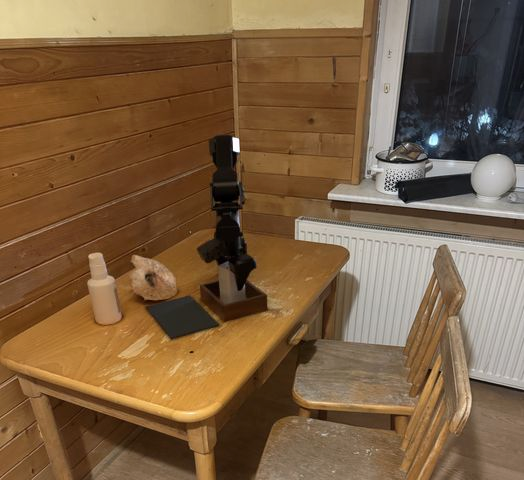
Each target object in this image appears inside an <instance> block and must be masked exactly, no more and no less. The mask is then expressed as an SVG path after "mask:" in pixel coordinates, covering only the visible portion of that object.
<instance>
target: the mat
mask: <svg viewBox="0 0 524 480" xmlns="http://www.w3.org/2000/svg"><path fill="white" fill-rule="evenodd" d="M145 309H146V310H147V311H148V313H149V314H150V315H151V316H152V318H153V319H154V320H155V321H156V322H157V324H158V325H159V327H161V328H162V330H163V331H164V333H165V334H166V335H167V336H168V338H169V339H170V340H174V339H177V338H178V339H179V338H181V337H184V336H185V337H186V336H188V335H192V334H196V333H199V332H203V331H206V330H209V329H213V328H216V327H220V323H218V321H217V320H216V319H215V318H214V317H213V316H212V315H210V313H209V312H207V311H206V309H204V307H202V306H201V305H200V304H199V302H197V301H196V299H194V298H193V297H192V296H191V295H185V296H181V297H177V298H174V299H169V300H165V301H161V302H156V303H153V304H150V305H146V306H145Z"/></svg>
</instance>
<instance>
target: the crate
mask: <svg viewBox="0 0 524 480" xmlns="http://www.w3.org/2000/svg"><path fill="white" fill-rule="evenodd" d="M199 295H200V300H201V301H202V302H203V303H204V304H205V305H206V306H207V307H209V309H210V310H211V311H213V312H214V313H215V314H216V315H217V316H218V317H219V318H220V319H221V320H222V321H223V322H224V323H226V322H229V321H233V320H237V319H240V318H244V317H247V316H250V315H251V316H252V315H254V314H258V313H261V312H265V311H268V310H269V309H268V294H267V293H265V292H264V291H263V290H261V289H260V288H259V287H257V286H256V285H255V284H253V283H252V282H250V281H249V280H248V279H247V280H246V282H245V297H247V298H246V299H244V300H240V301H236V302H233V303H229V304H224V303H223V302H222V301H221V300H220V298H219V297H220V288H219V279H218V280H213V281H209V282H206V283H201V284H199Z"/></svg>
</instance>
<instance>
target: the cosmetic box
mask: <svg viewBox="0 0 524 480" xmlns="http://www.w3.org/2000/svg"><path fill="white" fill-rule="evenodd" d="M229 269H230V267H229V263H228V262H226V263H223V264H221V265H219V266H218V265H217V272H218V273H217V275H218V280H219V288H220V296H219V299H220V300H221V301H222V302H223V303H224V304H229V303H233V302H236V301H240V300H244V299H247V298H246V297H247V296H246V295H245V284H244V287H243V289H242V290H241V291H238V290H237V286H236V281H235V276H234V273H232V272H231V271H230V270H229Z"/></svg>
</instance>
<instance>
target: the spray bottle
mask: <svg viewBox="0 0 524 480" xmlns="http://www.w3.org/2000/svg"><path fill="white" fill-rule="evenodd" d="M87 258H88V261H89V263H88V266H89V270H90V277H91V278H90V279H88V280H87V283H86V284H87V285H86V286H87V290H88V294H89V297H90V303H91V306H92V312H93V315H94V319H95V322H96V323H97V324H98V325H101V326H102V325H103V326H107V325H112V324H117V323H118V322H120V321H121V320H122V319H123V318H122V317H123V314H122V310H121V304H120V300H119V299H120V298H119V294H118V290H117V289H118V288H117V284H116V280H115V278H114V276H112V275H109V273H108V269H107V265H106V261H105V259H104V255H103V253H102V252H93V253H90V254H88V257H87Z"/></svg>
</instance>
